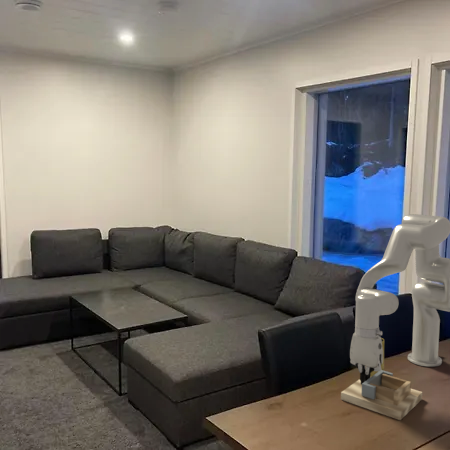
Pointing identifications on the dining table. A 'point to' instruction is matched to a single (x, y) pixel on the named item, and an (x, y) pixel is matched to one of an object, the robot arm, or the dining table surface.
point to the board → (385, 397)
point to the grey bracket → (376, 379)
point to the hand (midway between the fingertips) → (364, 383)
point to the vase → (383, 361)
